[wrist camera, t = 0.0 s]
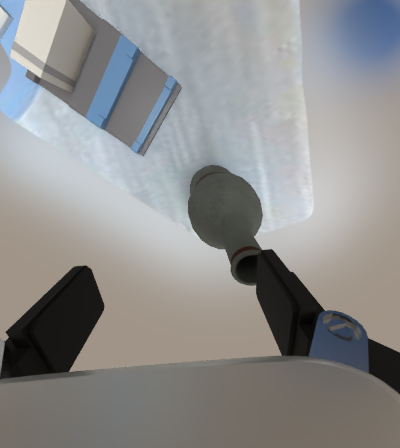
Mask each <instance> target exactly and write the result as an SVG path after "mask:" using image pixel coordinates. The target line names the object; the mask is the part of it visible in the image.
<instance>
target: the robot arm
mask: <svg viewBox="0 0 400 448" xmlns="http://www.w3.org/2000/svg"><path fill="white" fill-rule="evenodd" d="M256 294H257V298H258V301H259V303H260V305H261V307H262V310H263V312H264V314H265V317H266V319H267V322H268V324H269V326H270V328H271V331H272V333H273V336H274V338H275V340H276V343H277V345H278V347H279V350H280V352H281V354H282V356H266V357H249V358H233V359H220V360H207V361H195V362H181V363H169V364H157V365H144V366H133V367H121V368H109V369H98V370H87V371H76V372H69V370H70V368H71V367H72V365H73V363H74V361H75V360H76V358H77V356H78V355H79V353H80V351H81V349H82V348H83V346H84V344H85V342H86V341H87V339H88V337H89V335H90V334H91V332H92V330H93V328H94V327H95V325H96V323H97V321H98V319H99V318H100V316H101V314H102V312H103V311H104V303H103V300H102V298H101V295H100V292H99V289H98V286H97V284H96V281H95V278H94V275H93V273H92V270H91V269H90V268H88V266H76V267H74V268H72V269H71V270H70V271H69V272H68V273H67V274H66V275H65V276H64V277H63V278H62V279H61V280H59V282H57V283H56V284H55V285H54V286H53V287H52V288H51V289H50V290H49V291H48V292H47V293H46V294H45V295H44V296H43V297H42V298H41V299H40V300H39V301H38V302H37V303H35V304H34V305H33V306H32V307H31V308H30V309H29V310H28V311H27V312H26V313H25V314H24V315H23V316H22V317H21V318H20V319H19V320H18V321H17V322H16V323H15V324H14V325H12V326H11V327H10V328H9V329H8V330H7V331H6V333H7V335H8V336H9V338H8V339H7V340H6V341H4V340H3V339H0V448H400V353H399V352H397V351H395V350H393V349H391V348H388V347H386V346H384V345H382V344H380V343H378V342H375V341H373V340H371V339H369V338H368V336H367V332H366V331H365V329H364V328H363V326H362V325H361V324H360V323H359V322H358V321H357V320H355V319H353V318H352V317H350V316H349V315H346V314H344V313H342V312H338V311H332V310H328V311H325V310H324V309H323V308H322V307H321V305H320V304H319V303H318V302H317V300H316V299H315V298H314V297H313V296H312V294H311V293H310V292H309V291H308V289H307V288H306V287H305V286H304V285H303V283H302V282H301V281H300V280H299V279H298V277H297V276H296V275H295V274H294V273H293V272H290V271H289V270H288V268H287V267H286V266H285V265H284V263H283V262H282V261H281V260H280V258H279V257H278V256H277V255H276V253H275V252H274V251H273V250H272V249H270V250H261V253H258V256H257V282H256Z"/></svg>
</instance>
